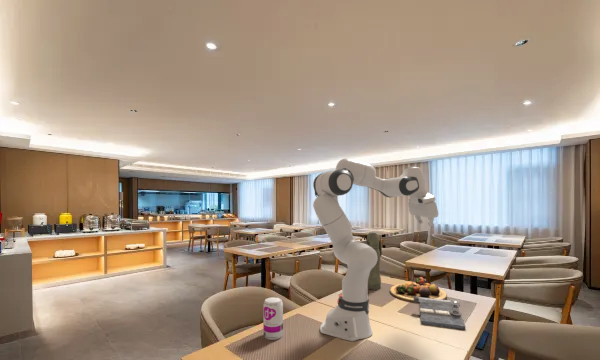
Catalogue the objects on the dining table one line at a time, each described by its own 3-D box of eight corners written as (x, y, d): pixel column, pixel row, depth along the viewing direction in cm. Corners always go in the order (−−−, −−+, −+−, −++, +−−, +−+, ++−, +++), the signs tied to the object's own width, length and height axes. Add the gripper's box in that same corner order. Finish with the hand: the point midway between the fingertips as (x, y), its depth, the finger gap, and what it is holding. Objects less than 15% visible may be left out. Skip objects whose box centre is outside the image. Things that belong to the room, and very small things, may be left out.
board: (421, 324, 135) (420, 312, 135) (419, 304, 159) (419, 294, 159) (466, 330, 128) (466, 317, 128) (458, 309, 152) (457, 298, 153)
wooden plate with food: (404, 283, 199) (403, 271, 199) (455, 294, 176) (454, 280, 176) (380, 296, 176) (379, 282, 176) (434, 309, 153) (433, 293, 154)
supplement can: (275, 342, 119) (275, 304, 119) (259, 337, 123) (259, 300, 124) (286, 334, 125) (286, 298, 126) (271, 329, 130) (271, 295, 131)
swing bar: (459, 304, 144) (459, 300, 144) (460, 307, 140) (460, 303, 140) (413, 299, 151) (413, 295, 151) (413, 302, 147) (413, 298, 147)
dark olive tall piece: (385, 288, 187) (384, 233, 189) (370, 290, 183) (369, 234, 185) (377, 284, 195) (376, 232, 198) (362, 286, 191) (361, 232, 193)
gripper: (403, 198, 157) (409, 223, 157) (425, 200, 137) (432, 229, 137) (413, 195, 158) (419, 220, 158) (437, 197, 138) (444, 225, 138)
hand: (425, 224), depth 147 cm, fingers open, 8 cm apart
